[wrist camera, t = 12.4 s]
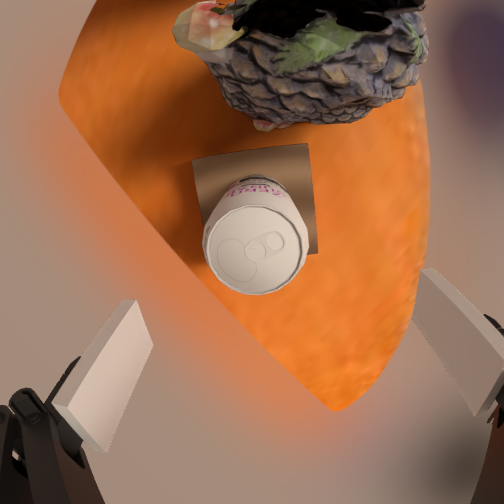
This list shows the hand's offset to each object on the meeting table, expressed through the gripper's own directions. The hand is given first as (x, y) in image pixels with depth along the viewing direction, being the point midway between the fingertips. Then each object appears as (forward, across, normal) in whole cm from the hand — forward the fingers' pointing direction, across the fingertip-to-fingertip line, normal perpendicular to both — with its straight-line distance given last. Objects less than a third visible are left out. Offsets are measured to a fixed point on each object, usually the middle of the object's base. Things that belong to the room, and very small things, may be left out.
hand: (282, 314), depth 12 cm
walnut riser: (+28, -1, 0) cm, 28 cm away
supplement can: (+24, -1, 0) cm, 24 cm away
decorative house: (+28, +6, +16) cm, 33 cm away
